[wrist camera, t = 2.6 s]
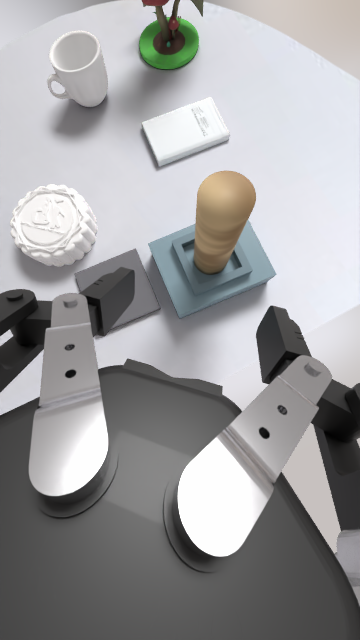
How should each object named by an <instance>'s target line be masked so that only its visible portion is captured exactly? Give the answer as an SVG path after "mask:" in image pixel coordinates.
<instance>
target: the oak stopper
mask: <svg viewBox="0 0 360 640" xmlns="http://www.w3.org/2000/svg"><path fill="white" fill-rule="evenodd" d="M255 201H256V193H255V189H254V187H253V185H252V183H251V182H250V181H249V180H248V179H247V178H246V177H245V176H243V175H242V174H240V173H237V172H233V171H220V172H216V173H214V174H212V175H210V176H208V177H207V178H206V179H205V180H204V181H203V182H202V184H201V185H200V187H199V190H198V194H197V208H196V225H195V242H194V264H195V266H196V268H197V269H198V270H199V271H200V272H202V273H203V274H206V275H215V274H218V273H220V272H221V271H222V270H223V269H224V268H225V267H226V265H227V263H228V261H229V258H230V256H231V254H232V252H233V250H234V248H235V246H236V244H237V241H238V239H239V237H240V235H241V233H242V231H243V229H244V227H245V225H246V222H247V220H248V218H249V216H250V214H251V212H252V210H253V208H254V205H255Z"/></svg>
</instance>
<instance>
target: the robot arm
mask: <svg viewBox="0 0 360 640" xmlns="http://www.w3.org/2000/svg"><path fill="white" fill-rule="evenodd" d="M134 294H135V271H134V270H132V269H128V268H124V267H120V268H119V269H117V270H116V271H115V272H114V273H108V274H105V275H103V276H101V277H100V278H99V279H98V280H96V281H95V282H94V283H93V284H91V285H90V286H88V287H87V288H86V289H84V290H83V291H82V292H80V293H79V294H77V293H67V294H63V295H60V296H58V297H56V298H55V299H54V300H53V301H37V300H36V297H35V294H34V293H33V292H32V291H30V290H25V289H16V290H10V291H6V292H4V293H1V294H0V336H1V335H2V334H4V333H5V332H6V331H8V330H9V329H10V330H11V332H12V334H13V337H12V338H10V339H9V340H8V341H7V342H5V343H4V344H3V345H2V346H0V392H1V391H2V390H3V389H4V388H5V387H6V386H7V385H8V384H9V383H10V382H11V381H12V380H13V379H14V378H15V377H16V376H17V375H18V374H19V373H20V372H21V371H22V370H23V369H24V368H25V367H26V366H27V365H28V364H29V363H30V362H31V361H32V360H33V359H34V358H35V357H36V356H37V355H38V354H39V353H40V352H41V351H42V350H43V349H44V355H43V366H42V378H41V390H40V397H38V398H36V399H34V400H32V401H30V402H28V403H26V404H24V405H21V406H19V407H17V408H15V409H13V410H11V411H9V412H7V413H4V414H2V415H0V640H360V448H359V445H358V443H357V440H356V439H358V438H360V383H358V384H356V385H355V386H354V387H353V388H349V387H347V386H345V385H343V384H341V383H339V382H337V381H335V380H333V379H332V375H331V373H330V371H329V370H328V368H327V367H326V366H325V365H324V364H322V363H321V362H320V361H318V360H317V359H315V358H312V356H311V354H310V352H309V349H308V347H307V345H306V342H305V341H304V337H303V335H301V334H302V333H301V330H300V328H299V326H298V325H297V324H296V323H295V322H294V321H293V320H291V319H290V318H289V316H288V313H287V310H286V309H284V308H280V307H276V306H270V307H269V308H268V310H267V312H266V314H265V316H264V317H263V319H262V321H261V323H260V325H259V327H258V329H257V333H256V339H257V346H258V353H259V361H260V368H261V376H262V382H263V383H266V384H269V385H268V386H267V387H266V388H265V389H264V390H263V391H262V392H261V393H260V394H259V395H258V396H257V397H256V398H255V400H253V401H252V402H251V404H249V405H248V407H247V408H246V409H245V410H244V411H243V412H242V411H241V409H240V408H239V407H238V406H237V405H236V404H235V403H234V402H232V401H231V400H230V399H228V398H227V397H226V396H224V395H222V386H220V385H216V384H213V383H209V382H206V381H203V380H199V379H186V378H173V377H170V376H169V375H167V374H165V373H163V372H162V371H160V370H158V369H156V368H154V367H153V366H151V365H148V364H145V363H141V362H138V361H134V360H131V359H127V360H126V362H125V364H124V365H115V366H108V367H104V368H101V369H98V365H97V359H96V352H95V346H94V340H93V337H94V336H95V335H96V334H97V335H101V336H105V335H106V334H107V333H108V331H109V330H110V329H111V328H112V326H113V325H114V324H115V323H116V321H117V320H118V319H119V318H120V316H121V315H122V314H123V313H124V312H125V310H126V309H127V308H128V307H129V305H130V304H131V303H132V301H133V299H134ZM310 423H312V424H313V425H314V428H315V432H316V436H317V440H318V444H319V448H320V452H321V456H322V459H323V463H324V467H325V471H326V475H327V479H328V483H329V486H330V490H331V494H332V498H333V502H334V505H335V509H336V513H337V517H338V521H339V524H340V528H341V533H340V534H339V535H338V538H337V552H336V553H335V554H334V553H333V551H332V550H331V548H330V547H329V545H328V544H327V542H326V541H325V539H324V537H323V536H322V534H321V533H320V531H319V530H318V528H317V526H316V525H315V523H314V522H313V520H312V519H311V517H310V515H309V514H308V512H307V511H306V510H305V508H304V506H303V505H302V503H301V501H300V500H299V499H298V497H297V495H296V494H295V492H294V491H293V489H292V487H291V486H290V484H289V483H288V481H287V480H286V478H285V476H284V475H283V474H282V472H281V471H282V469H283V467H284V466H285V464H286V463H287V461H288V459H289V457H290V456H291V454H292V452H293V451H294V449H295V447H296V446H297V444H298V443H299V441H300V439H301V438H302V436H303V434H304V432H305V431H306V429H307V428H308V426H309V424H310Z"/></svg>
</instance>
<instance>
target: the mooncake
mask: <svg viewBox="0 0 360 640" xmlns="http://www.w3.org/2000/svg"><path fill="white" fill-rule="evenodd" d="M12 214H13V218H12V219H11V221H10V226H11V227H12V229H11V236H12V237H13V238H14V239H15V245H16V246H17V247H19V248H20V249H21V250H22V252H23V253H24V254H26V255H28V256H30V257H31V258H33V259H35V260H37V261H38V262H42V263H43V264H45V265H47V266H52V265H55V266H57V267H61V266H63V265H64V264H66V265H71V264H73V263H74V262H75V260H81V259H82V258H83V257H84V253H88V252H89V251H90V250H91V247H92V246H91V244H93V243H94V242H95V241H96V236H95V234H96V233H97V231H98V227H97V225H96V222H97V219H96V217H95V216H94V214H93V212H92V209H91V208H90V207H89V205H88V204H87V202H86V201H85V199H84V198H83V197H82V196H81V195H79V194H78V193H77V192H76V191H75V190H74V189H68V188H67V187H66V186H64V185H59V186H56V185H54V184H49V185H48V186H46V187H44V186H40V187H38V188H36V190H35V191H30V192H28V193H27V194H26V197H25V198H22V199H21V200H19V202H18V207H16V208H15V209H14V210H13V213H12Z"/></svg>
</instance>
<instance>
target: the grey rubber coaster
mask: <svg viewBox="0 0 360 640" xmlns="http://www.w3.org/2000/svg"><path fill="white" fill-rule="evenodd" d="M120 267H124V268H128V269H132V270H134V271H135V294H134V299H133V301H132V303H131V304H130V305H129V307H128V308H127V309H126V310H125V312H124V313H123V314H122V315H121V316H120V318H119V319H118V320H117V321H116V323H115V324H114V325H113V326H112V328H111V329H113V328H116V327H118V326H121V325H123V324H125V323H128V322H130V321H132V320H135V319H137V318H140V317H142V316H144V315H147V314H149V313H152V312H154V311H156V310H159V309H160V306H159V304H158V301H157V299H156V296H155V294H154V292H153V289H152V287H151V284H150V282H149V279H148V277H147V275H146V272H145V270H144V267H143V265H142V262H141V260H140V258H139V255H138V253H137V250H136V248H135V249H133V250H131V251H128V252H126V253H123V254H121V255H119V256H116V257H114V258H111V259H109V260H107V261H104V262H102V263H99V264H97V265H95V266H92V267H90V268H87V269H85V270H82V271H80V272H78V273H75V277H76V280H77V282H78V285H79V288H80V291H81V292H82V291H83V290H84V289H86V288H87V287H88V286H90V285H91V284H93V283H94V282H95V281H96V280H98V279H99V278H100V277H101V276H103V275H105V274H108V273H114V272H115V271H116V270H117V269H119V268H120ZM111 329H110V330H111ZM96 335H97V334H96Z"/></svg>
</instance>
